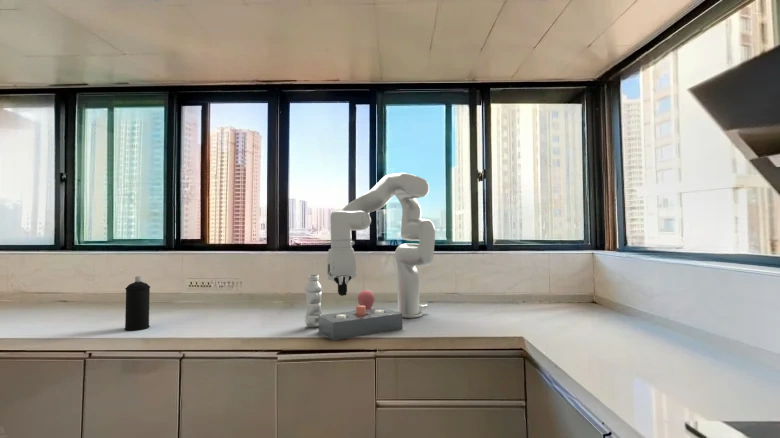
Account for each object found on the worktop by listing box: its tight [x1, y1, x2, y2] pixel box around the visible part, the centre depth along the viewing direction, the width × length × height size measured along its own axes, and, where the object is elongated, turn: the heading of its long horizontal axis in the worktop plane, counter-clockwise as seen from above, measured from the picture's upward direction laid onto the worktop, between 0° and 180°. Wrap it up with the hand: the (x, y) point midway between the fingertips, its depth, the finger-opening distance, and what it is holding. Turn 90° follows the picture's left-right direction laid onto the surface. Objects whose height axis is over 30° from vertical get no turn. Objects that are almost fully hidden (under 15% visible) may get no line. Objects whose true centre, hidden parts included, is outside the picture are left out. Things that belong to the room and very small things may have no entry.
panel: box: [318, 307, 404, 341], centre depth 144 cm, size 28×14×6 cm, turn 121°
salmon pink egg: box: [355, 305, 366, 316], centre depth 144 cm, size 4×4×6 cm
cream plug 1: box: [336, 314, 346, 319], centre depth 140 cm, size 4×4×6 cm
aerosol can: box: [124, 275, 151, 332], centre depth 149 cm, size 8×8×20 cm
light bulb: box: [357, 289, 375, 310], centre depth 164 cm, size 7×7×12 cm
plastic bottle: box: [304, 274, 323, 328], centre depth 150 cm, size 6×7×20 cm
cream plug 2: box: [375, 310, 384, 314], centre depth 148 cm, size 4×4×6 cm
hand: (342, 294), depth 141 cm, fingers closed
